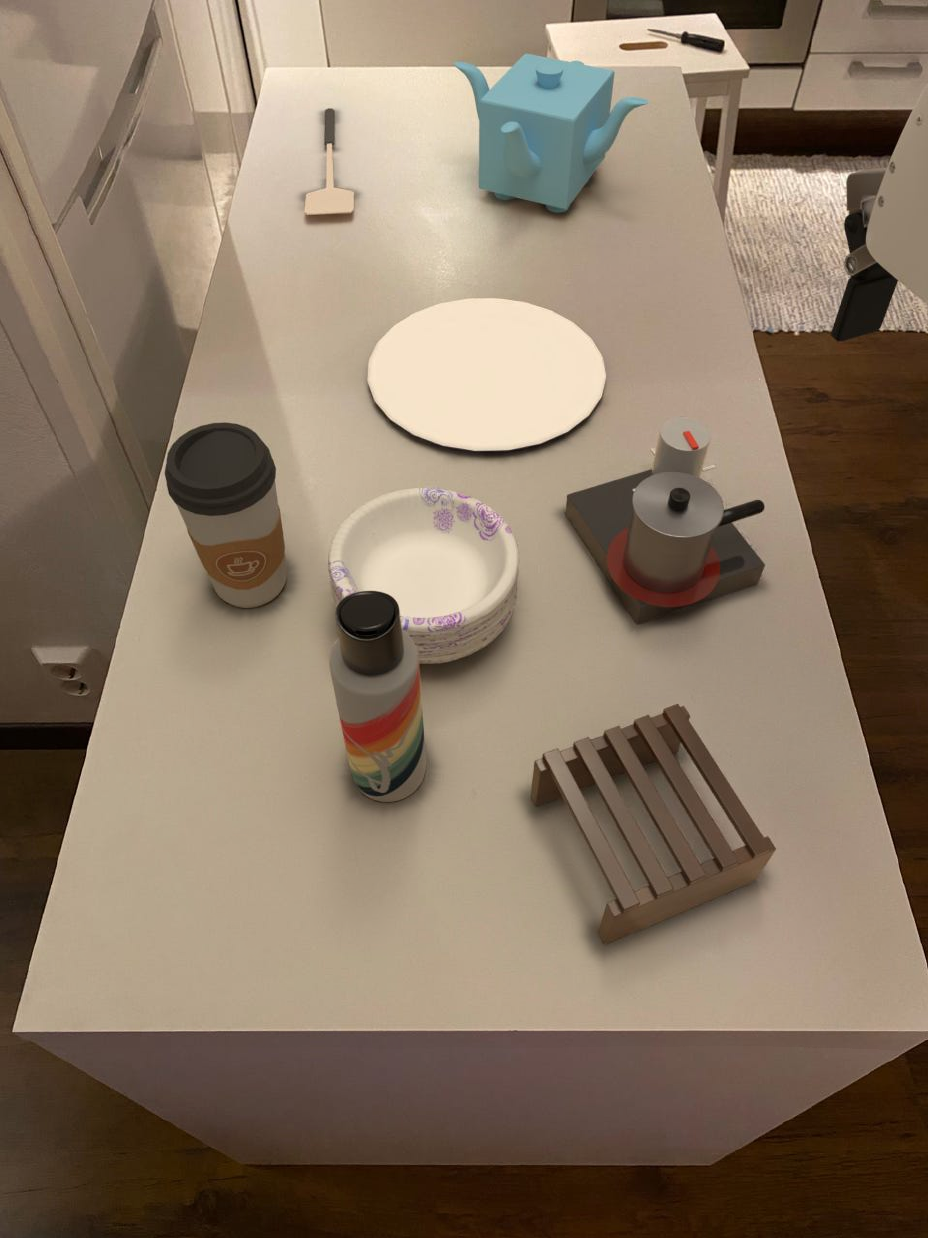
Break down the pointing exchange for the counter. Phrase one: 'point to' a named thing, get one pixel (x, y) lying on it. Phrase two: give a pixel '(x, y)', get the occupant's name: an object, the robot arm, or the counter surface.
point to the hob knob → (681, 446)
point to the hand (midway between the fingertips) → (905, 380)
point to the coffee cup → (230, 510)
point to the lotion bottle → (378, 696)
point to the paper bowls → (431, 567)
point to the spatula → (329, 181)
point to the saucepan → (675, 529)
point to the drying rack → (628, 755)
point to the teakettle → (545, 128)
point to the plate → (486, 375)
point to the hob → (610, 513)
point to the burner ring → (658, 598)
